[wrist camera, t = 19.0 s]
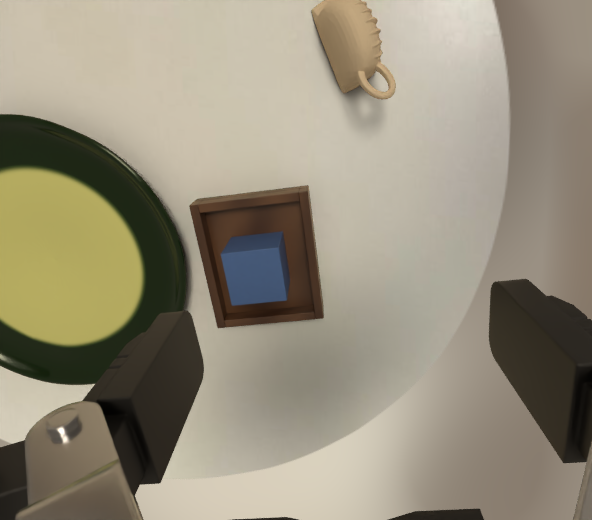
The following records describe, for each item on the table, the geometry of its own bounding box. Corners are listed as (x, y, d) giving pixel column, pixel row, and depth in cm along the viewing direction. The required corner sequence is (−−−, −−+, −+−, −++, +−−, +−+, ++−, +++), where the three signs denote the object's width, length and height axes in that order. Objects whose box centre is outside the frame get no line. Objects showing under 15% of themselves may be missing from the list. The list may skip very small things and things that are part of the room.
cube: (283, 231, 39) (278, 247, 35) (290, 279, 40) (287, 300, 36) (230, 236, 39) (220, 253, 35) (240, 284, 41) (231, 306, 37)
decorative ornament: (359, -16, 32) (366, -36, 27) (392, 92, 35) (404, 91, 30) (310, 8, 33) (309, -8, 28) (346, 111, 35) (351, 114, 30)
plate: (116, 68, 35) (101, 66, 33) (233, 339, 45) (228, 352, 42) (-142, 167, 40) (-171, 172, 37) (14, 394, 49) (-1, 409, 47)
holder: (308, 185, 38) (307, 191, 36) (323, 306, 43) (323, 318, 40) (196, 198, 39) (189, 205, 37) (223, 315, 44) (217, 328, 41)
